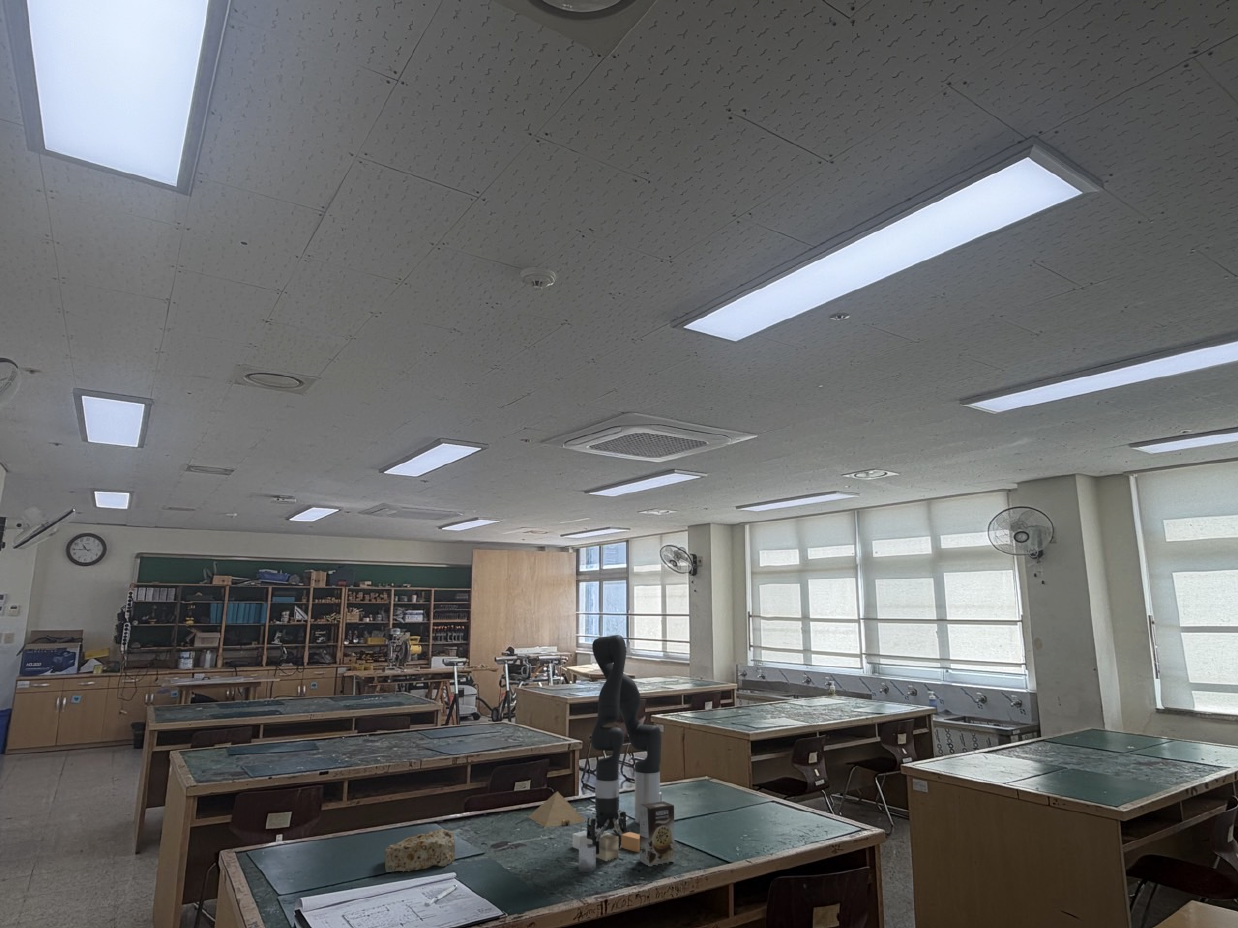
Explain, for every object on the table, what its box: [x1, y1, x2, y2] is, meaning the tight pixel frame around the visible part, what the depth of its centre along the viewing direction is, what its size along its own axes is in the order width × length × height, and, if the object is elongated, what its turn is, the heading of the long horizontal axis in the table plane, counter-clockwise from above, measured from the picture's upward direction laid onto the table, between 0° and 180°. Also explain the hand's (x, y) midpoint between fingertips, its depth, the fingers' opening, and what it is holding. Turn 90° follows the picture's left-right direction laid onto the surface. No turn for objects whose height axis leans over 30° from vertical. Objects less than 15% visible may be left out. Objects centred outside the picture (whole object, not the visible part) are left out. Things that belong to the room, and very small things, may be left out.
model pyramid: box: [528, 791, 587, 828], centre depth 258 cm, size 17×17×10 cm
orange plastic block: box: [620, 831, 640, 853], centre depth 225 cm, size 4×7×4 cm, turn 49°
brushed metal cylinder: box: [578, 844, 597, 873], centre depth 207 cm, size 5×5×6 cm
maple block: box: [596, 832, 620, 862], centre depth 217 cm, size 5×5×6 cm
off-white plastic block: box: [572, 830, 592, 850], centre depth 227 cm, size 6×4×4 cm, turn 130°
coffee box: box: [639, 800, 675, 867], centre depth 214 cm, size 9×6×16 cm
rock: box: [384, 828, 456, 872], centre depth 211 cm, size 21×14×10 cm
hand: (606, 850), depth 216 cm, fingers open, 8 cm apart
